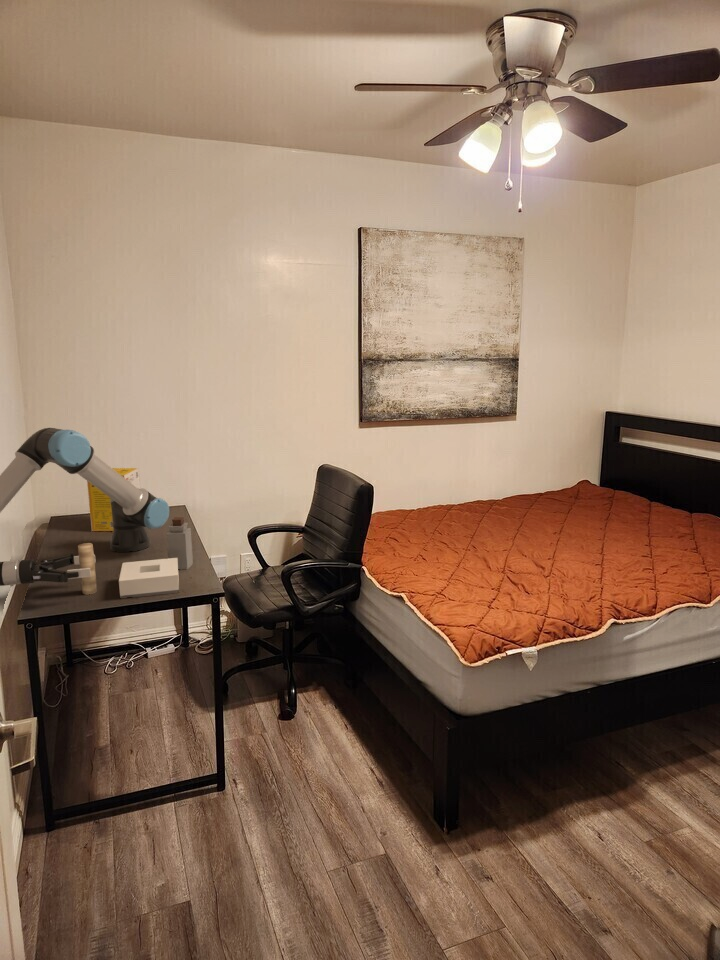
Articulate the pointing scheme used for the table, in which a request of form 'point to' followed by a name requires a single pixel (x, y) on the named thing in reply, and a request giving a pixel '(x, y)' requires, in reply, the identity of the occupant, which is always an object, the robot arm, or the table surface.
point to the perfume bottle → (180, 543)
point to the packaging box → (107, 501)
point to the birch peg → (87, 562)
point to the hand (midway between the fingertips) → (93, 565)
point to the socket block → (149, 578)
